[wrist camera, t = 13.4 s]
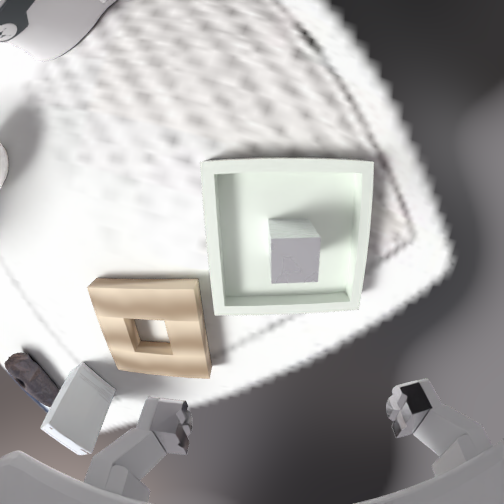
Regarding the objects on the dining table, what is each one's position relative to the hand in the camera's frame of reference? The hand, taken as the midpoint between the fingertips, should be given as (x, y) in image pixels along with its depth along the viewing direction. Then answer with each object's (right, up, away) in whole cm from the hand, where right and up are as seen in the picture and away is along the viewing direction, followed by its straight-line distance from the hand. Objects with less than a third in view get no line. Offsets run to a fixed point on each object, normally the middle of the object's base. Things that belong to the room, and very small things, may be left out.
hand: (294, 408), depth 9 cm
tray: (+2, +8, +20) cm, 21 cm away
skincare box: (-30, -17, +31) cm, 46 cm away
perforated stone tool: (-46, -19, +32) cm, 59 cm away
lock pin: (+2, +7, +19) cm, 20 cm away
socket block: (-14, -4, +25) cm, 29 cm away
